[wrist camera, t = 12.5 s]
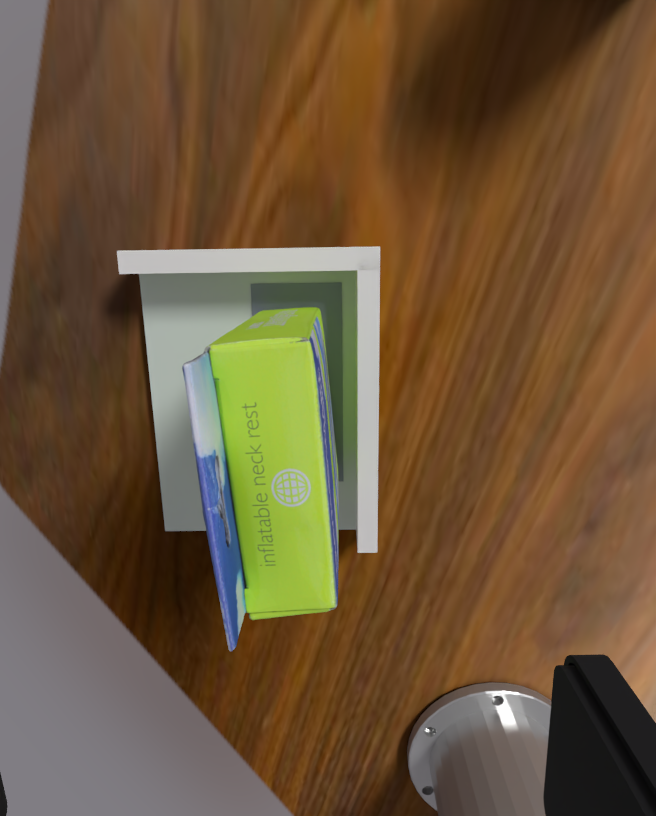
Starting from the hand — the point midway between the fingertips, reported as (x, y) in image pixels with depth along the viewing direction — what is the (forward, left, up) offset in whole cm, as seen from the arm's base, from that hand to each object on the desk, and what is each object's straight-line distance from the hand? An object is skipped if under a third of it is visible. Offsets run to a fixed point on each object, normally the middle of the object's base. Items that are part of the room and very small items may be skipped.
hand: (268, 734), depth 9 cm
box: (0, +1, -26) cm, 26 cm away
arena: (-1, +3, -26) cm, 27 cm away
